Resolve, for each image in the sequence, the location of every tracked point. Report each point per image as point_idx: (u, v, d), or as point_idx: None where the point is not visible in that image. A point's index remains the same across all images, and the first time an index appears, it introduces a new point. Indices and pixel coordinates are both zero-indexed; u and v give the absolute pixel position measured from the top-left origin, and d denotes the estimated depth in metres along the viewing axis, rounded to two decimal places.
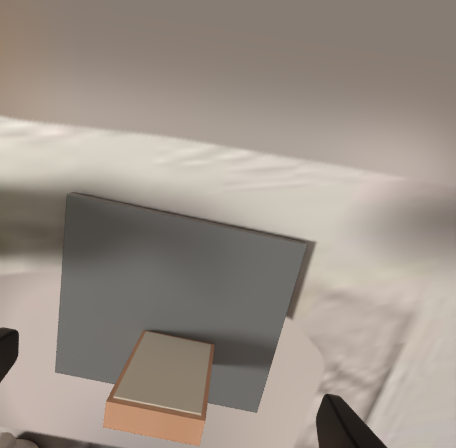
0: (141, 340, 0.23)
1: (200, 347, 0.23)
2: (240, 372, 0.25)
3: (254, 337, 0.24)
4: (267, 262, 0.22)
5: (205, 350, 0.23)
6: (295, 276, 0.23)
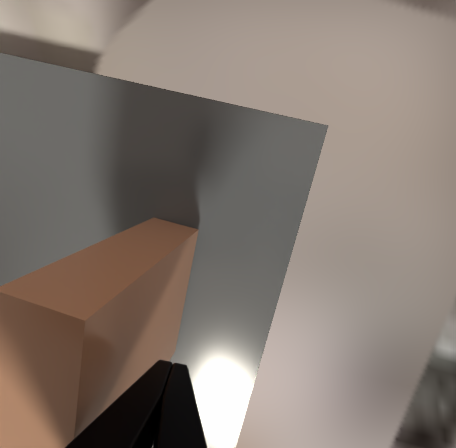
0: None
1: None
2: (217, 165, 0.12)
3: (129, 135, 0.12)
4: None
5: None
6: None
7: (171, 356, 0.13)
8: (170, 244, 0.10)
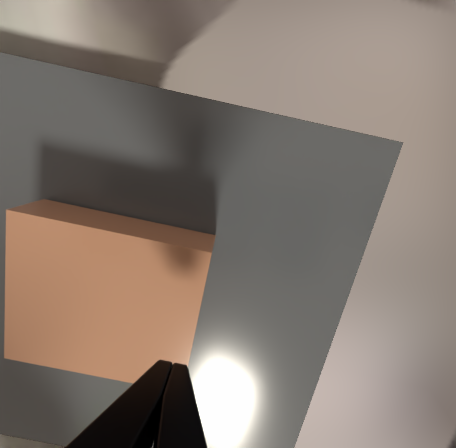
0: None
1: None
2: (286, 182, 0.11)
3: (198, 152, 0.11)
4: (24, 130, 0.11)
5: None
6: (44, 66, 0.11)
7: None
8: (145, 235, 0.10)
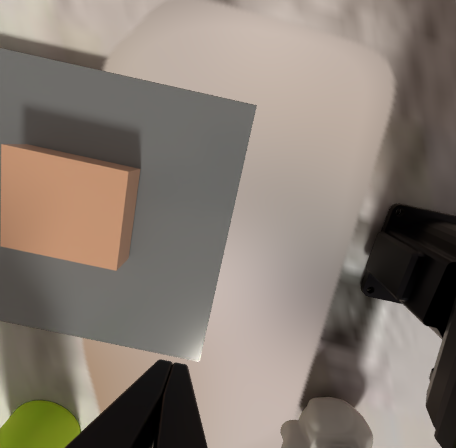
0: None
1: None
2: (184, 132, 0.17)
3: (126, 112, 0.17)
4: (14, 98, 0.17)
5: None
6: (26, 56, 0.17)
7: (109, 268, 0.18)
8: (88, 161, 0.16)
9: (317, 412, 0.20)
